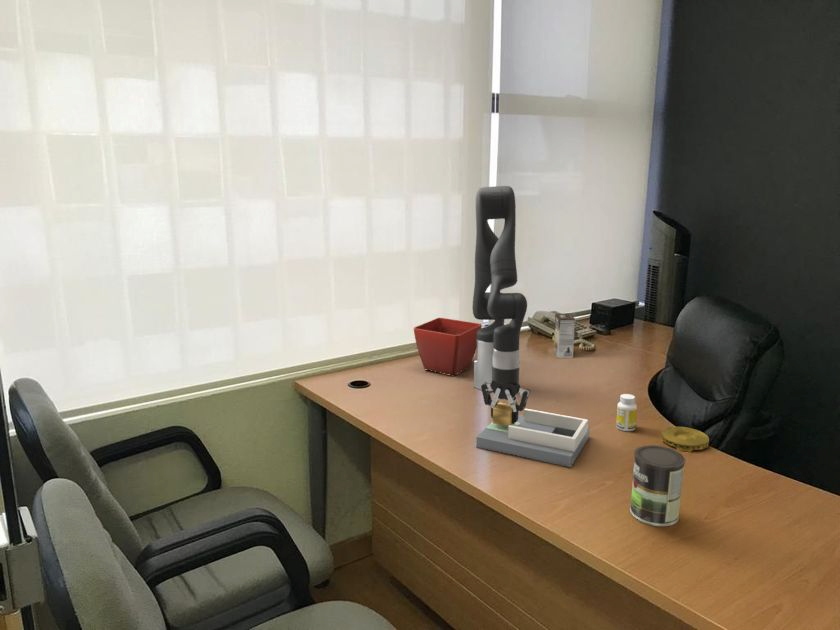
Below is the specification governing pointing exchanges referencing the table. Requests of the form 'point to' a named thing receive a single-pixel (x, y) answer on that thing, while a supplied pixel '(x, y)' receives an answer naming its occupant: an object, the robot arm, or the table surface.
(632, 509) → the coffee can
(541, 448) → the walled pit deck
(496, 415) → the mustard block
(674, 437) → the gold flat disc
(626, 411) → the supplement bottle
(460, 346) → the plant pot
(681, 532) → the table surface
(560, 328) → the coffee box
